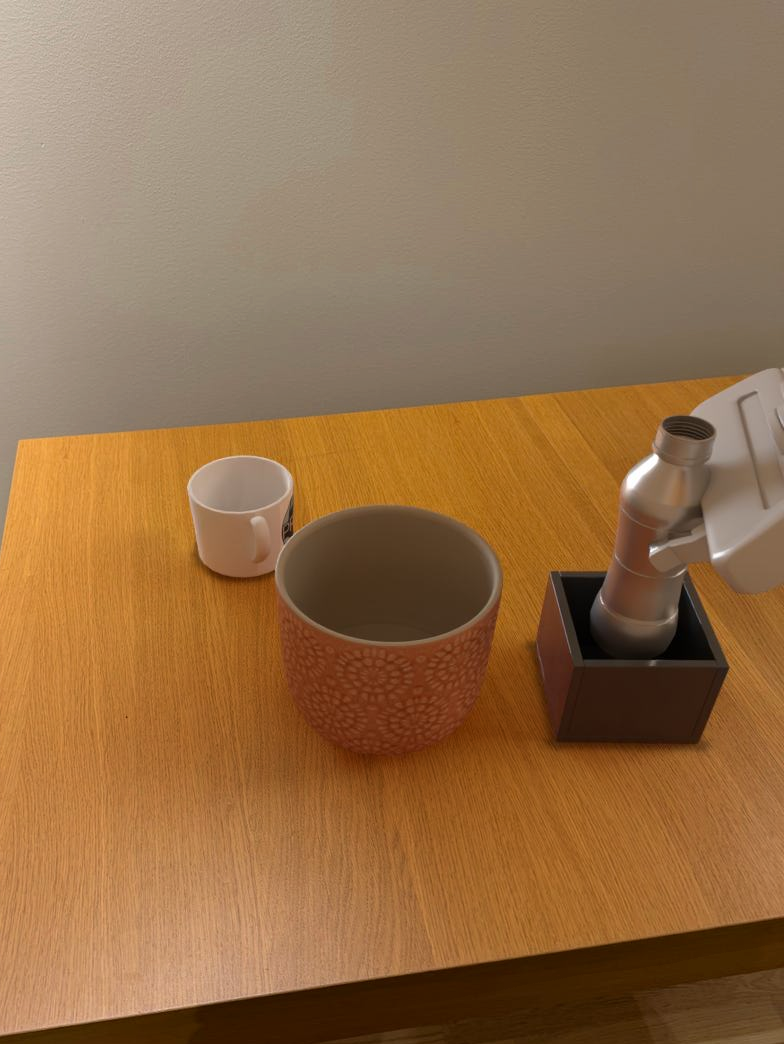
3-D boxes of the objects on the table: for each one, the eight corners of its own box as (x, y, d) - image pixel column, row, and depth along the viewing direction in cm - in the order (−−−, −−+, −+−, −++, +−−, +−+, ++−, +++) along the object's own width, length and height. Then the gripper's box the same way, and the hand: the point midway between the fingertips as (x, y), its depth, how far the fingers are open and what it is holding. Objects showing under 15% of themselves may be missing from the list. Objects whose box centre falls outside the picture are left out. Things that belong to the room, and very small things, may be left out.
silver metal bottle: (644, 684, 72) (716, 465, 59) (568, 645, 76) (619, 430, 62) (682, 642, 76) (758, 425, 62) (607, 607, 79) (664, 394, 65)
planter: (443, 627, 86) (458, 490, 76) (511, 764, 74) (540, 623, 64) (266, 656, 84) (256, 520, 74) (306, 803, 72) (300, 664, 61)
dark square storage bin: (663, 646, 84) (688, 570, 78) (698, 743, 75) (729, 667, 69) (534, 646, 84) (549, 570, 78) (555, 742, 76) (574, 666, 70)
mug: (185, 531, 98) (176, 466, 93) (279, 511, 101) (276, 447, 95) (216, 608, 89) (208, 541, 84) (318, 585, 91) (317, 518, 86)
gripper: (789, 322, 66) (620, 431, 74) (850, 475, 51) (631, 589, 60) (833, 384, 68) (664, 483, 77) (903, 548, 54) (685, 648, 62)
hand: (649, 531), depth 68 cm, fingers closed on silver metal bottle, 6 cm apart
